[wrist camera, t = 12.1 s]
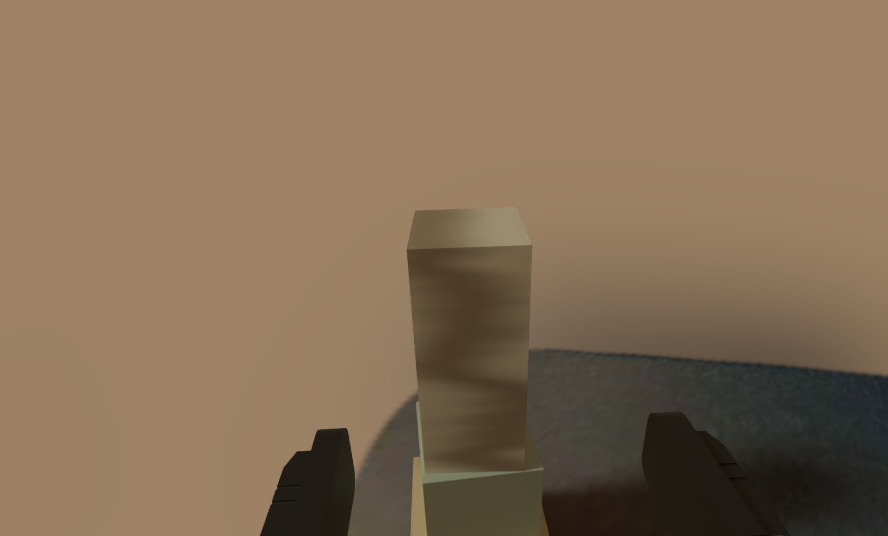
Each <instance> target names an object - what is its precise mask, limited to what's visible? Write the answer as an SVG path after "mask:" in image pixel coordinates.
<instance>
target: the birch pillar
mask: <svg viewBox="0 0 888 536" xmlns="http://www.w3.org/2000/svg"><path fill="white" fill-rule="evenodd" d="M407 258H408V270H409V282H410V294H411V307H412V320H413V332H414V344H415V355H416V369H417V380H418V393H419V406H420V418H421V430H422V443H423V455H424V467H425V473H455V472H501V471H524V466H525V437H526V408H527V379H528V349H529V347H528V346H529V319H530V291H531V261H532V244H531V241H530V239H529V236H528V234H527V232H526V229H525V226H524V224H523V222H522V219H521V217H520V214H519V212H518V209H517V207H506V208H505V207H504V208H477V209H451V210H427V211H425V210H424V211H415V214H414V218H413V223H412V228H411V232H410V237H409V242H408V246H407Z"/></svg>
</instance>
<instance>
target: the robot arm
mask: <svg viewBox="0 0 888 536" xmlns="http://www.w3.org/2000/svg"><path fill="white" fill-rule="evenodd" d="M642 467H643V472H644V475H645V478H646V481H647V483H648V485H649V487H650V489H651V491H652V493H653V495H654V497H655V499H656V501H657V503H658V505H659V507H660V509H661V511H662V513H663V515H664V517H665V519H666V521H667V523H668V525H669V527H670V529H671V531H672V533H673V535H674V536H790V535H789V533H788V532H787V531H786V529H785V528H784V527H783V525H782V524H781V523H780V521H779V520H778V518H777V517H776V516H775V514H774V513H773V512H772V510H771V509H770V507H769V506H768V505H767V503H766V502H765V501H764V499H763V498H762V497H761V495H760V494H759V492H758V491H757V490H756V488H755V487H754V486H753V484H752V483H751V482H750V481H748V479H747V476H746V475H745V473H744V472H743V471H742V469H741V468H740V467H739V466H737V462H736V461H735V460H734V458H733V457H732V456H731V454H730V453H729V451H728V450H727V449H726V447H725V446H724V445H723V444H722V443H720V442H719V441H718V440H716V439H715V438H714V437H712V436H711V435H710V434H709V433H707V432H706V431H695V429H694V428H693V426H692V425H691V423H690V422H689V420H688V419H687V418H686V416H685V415H684V414H683V413H682V412H662V413H651V414H650V415H649V417H648V422H647V428H646V434H645V440H644V446H643V452H642ZM354 490H355V472H354V465H353V459H352V453H351V447H350V441H349V435H348V430H347V429H346V428H340V429H321V430H318V431H317V432H316V435H315V439H314V442H313V445H312V449H311V451H297V452H296V453H295V455H294V456H293V457H292V458H291V459H290V461H289V462H288V463H287V464H286V465H285V467H284V468H283V471H282V474H281V477H280V479H279V482H278V485H277V490H276V491H275V494H274V497H273V500H272V505H270V508H269V512H268V514H267V517H266V520H265V523H264V526H263V529H262V531H261V534H260V536H347V533H348V527H349V522H350V516H351V510H352V504H353V498H354Z"/></svg>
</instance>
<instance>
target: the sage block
mask: <svg viewBox="0 0 888 536" xmlns="http://www.w3.org/2000/svg"><path fill="white" fill-rule="evenodd" d="M416 407H417V420H418V432H419V445H420V458H421V470H422V483H423V495H424V506H425V518H426V530H427V536H540V524H541V507H542V489H543V472H544V469H543V466H542V464H541V461H540V458H539V456H538V453H537V450H536V447H535V445H534V442H533V439H532V436H531V434H530V431H529V428H528V426H527V423H526V437H525V466H524V471H501V472H455V473H425V467H424V455H423V443H422V430H421V418H420V406H419V402H416Z"/></svg>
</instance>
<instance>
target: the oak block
mask: <svg viewBox="0 0 888 536" xmlns="http://www.w3.org/2000/svg"><path fill="white" fill-rule="evenodd" d="M411 536H427V530H426V518H425V506H424V495H423V483H422V470H421V458H420V457H414V464H413V489H412V515H411ZM540 536H549V532H548V528H547V524H546V520H545V516H544V511H543V507H541V524H540Z"/></svg>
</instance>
